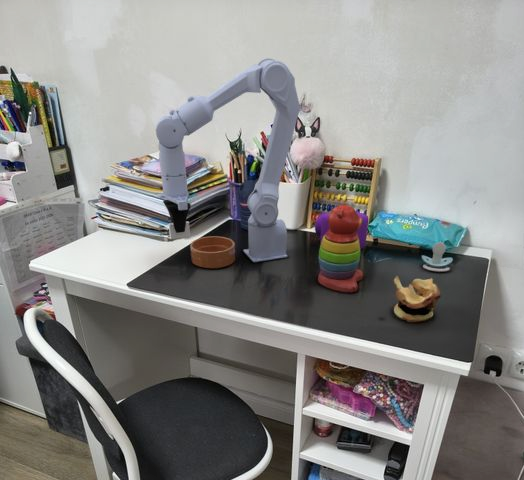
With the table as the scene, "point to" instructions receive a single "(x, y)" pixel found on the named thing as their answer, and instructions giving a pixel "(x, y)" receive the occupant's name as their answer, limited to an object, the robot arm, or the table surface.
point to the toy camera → (323, 227)
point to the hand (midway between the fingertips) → (179, 230)
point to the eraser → (182, 234)
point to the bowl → (212, 252)
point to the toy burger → (416, 298)
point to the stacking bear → (341, 251)
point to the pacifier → (437, 259)
